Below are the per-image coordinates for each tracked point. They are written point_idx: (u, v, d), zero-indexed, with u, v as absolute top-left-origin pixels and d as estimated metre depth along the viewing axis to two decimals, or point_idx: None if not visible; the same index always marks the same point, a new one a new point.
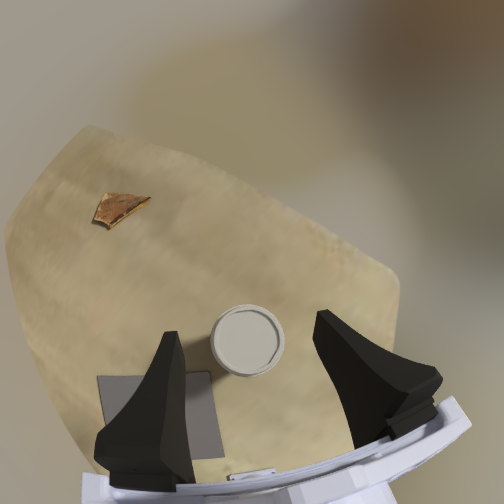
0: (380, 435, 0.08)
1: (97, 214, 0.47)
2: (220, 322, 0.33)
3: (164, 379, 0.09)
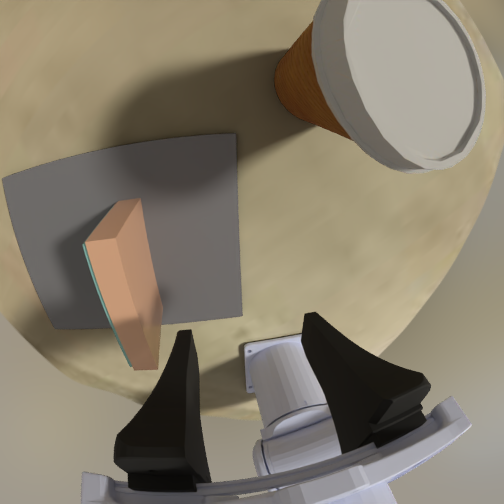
0: (365, 441, 0.08)
1: None
2: None
3: (182, 378, 0.09)
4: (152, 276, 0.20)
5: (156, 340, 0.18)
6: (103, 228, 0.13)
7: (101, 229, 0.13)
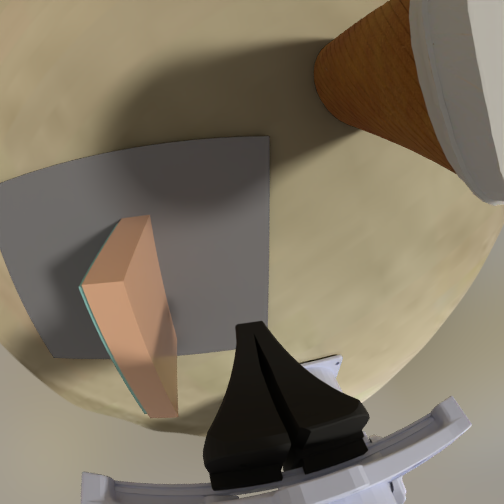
0: (297, 464, 0.07)
1: None
2: None
3: (256, 369, 0.10)
4: (165, 307, 0.17)
5: (174, 383, 0.15)
6: (105, 262, 0.10)
7: (102, 264, 0.10)
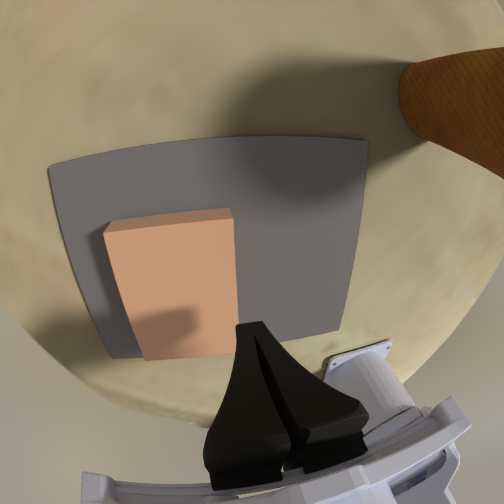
0: (297, 463, 0.07)
1: None
2: None
3: (256, 369, 0.10)
4: (223, 312, 0.17)
5: (169, 350, 0.17)
6: (135, 221, 0.14)
7: (133, 220, 0.14)
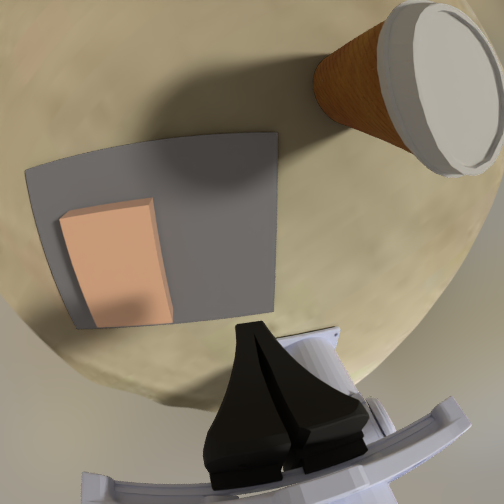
0: (297, 463, 0.07)
1: None
2: (426, 12, 0.05)
3: (256, 369, 0.10)
4: (151, 284, 0.19)
5: (114, 318, 0.20)
6: (83, 210, 0.17)
7: (82, 209, 0.17)
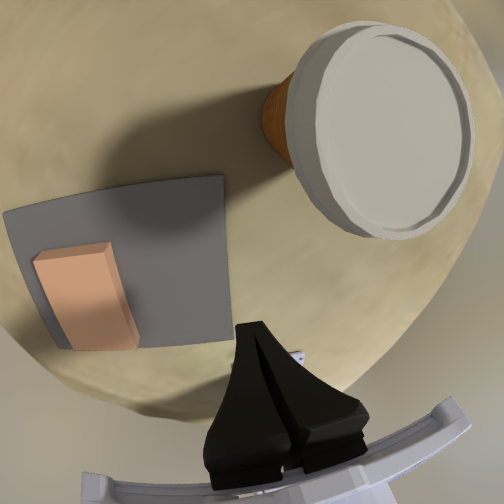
0: (297, 463, 0.07)
1: None
2: (347, 45, 0.06)
3: (256, 369, 0.10)
4: (114, 318, 0.20)
5: (87, 344, 0.21)
6: (52, 252, 0.17)
7: (52, 252, 0.17)
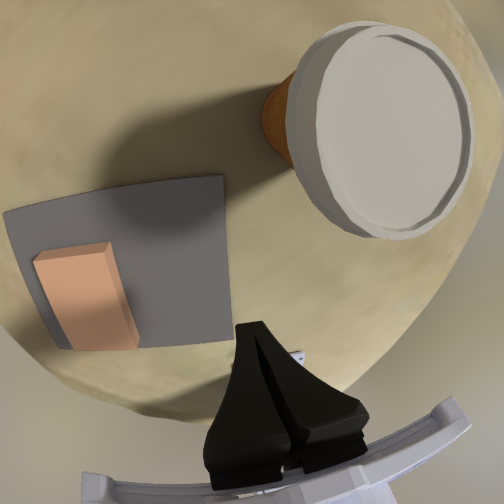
0: (297, 463, 0.07)
1: None
2: (348, 45, 0.06)
3: (256, 369, 0.10)
4: (114, 318, 0.20)
5: (87, 344, 0.21)
6: (52, 252, 0.17)
7: (52, 252, 0.17)
